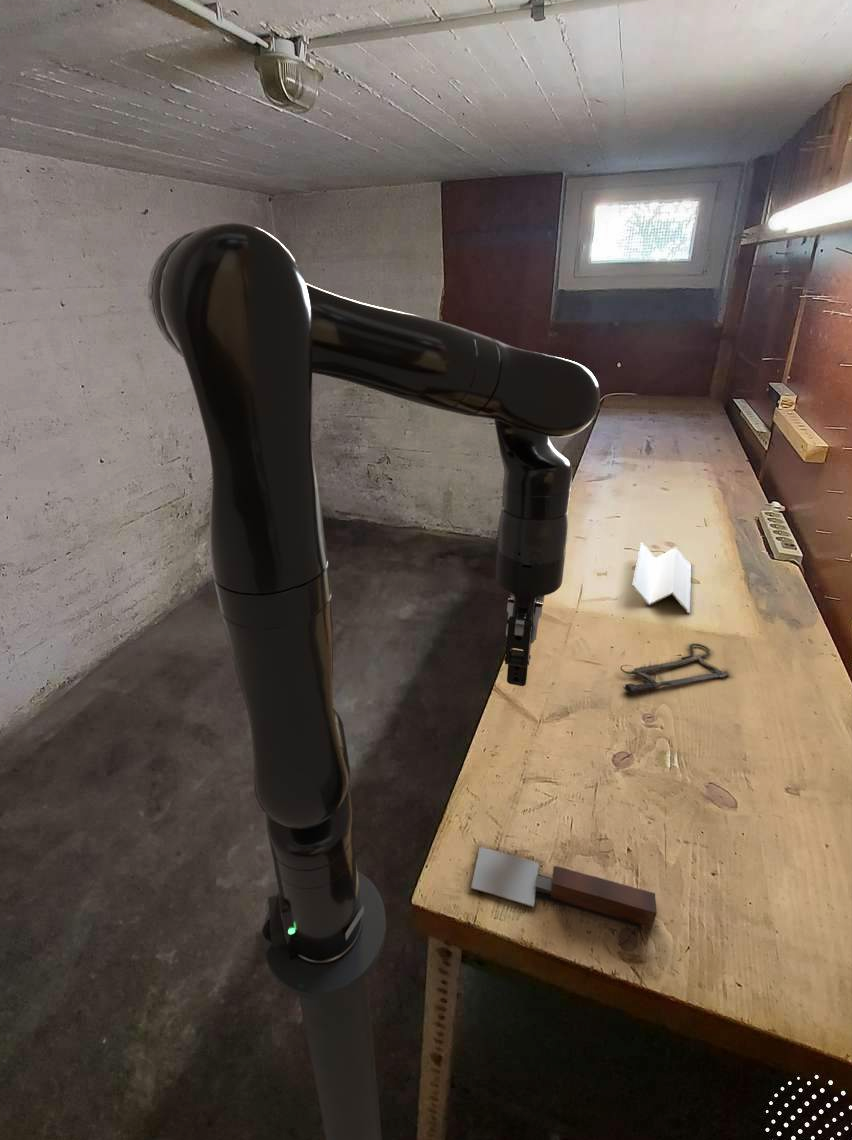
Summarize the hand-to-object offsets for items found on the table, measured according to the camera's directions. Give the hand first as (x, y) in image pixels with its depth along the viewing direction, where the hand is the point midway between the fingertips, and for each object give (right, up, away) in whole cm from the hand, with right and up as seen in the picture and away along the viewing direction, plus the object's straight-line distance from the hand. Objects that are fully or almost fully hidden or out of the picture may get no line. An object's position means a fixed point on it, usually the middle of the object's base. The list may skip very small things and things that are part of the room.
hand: (520, 661), depth 70 cm
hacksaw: (+38, -10, +41) cm, 57 cm away
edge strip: (+6, -30, +2) cm, 31 cm away
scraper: (+5, -30, +2) cm, 30 cm away
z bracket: (+51, +5, +71) cm, 87 cm away
